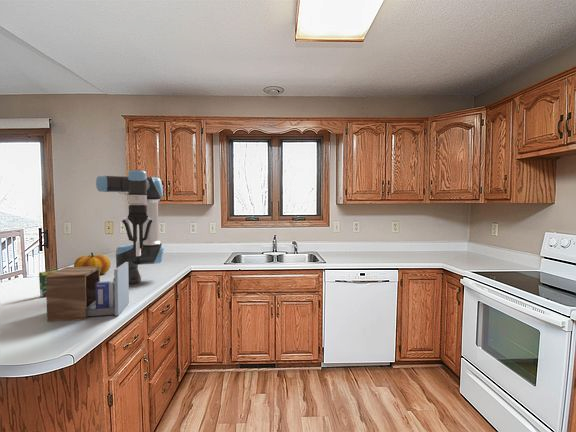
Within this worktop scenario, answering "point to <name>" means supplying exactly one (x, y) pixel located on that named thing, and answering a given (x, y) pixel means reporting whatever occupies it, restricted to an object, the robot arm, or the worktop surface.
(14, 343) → the worktop surface
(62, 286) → the block
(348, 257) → the worktop surface
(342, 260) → the worktop surface
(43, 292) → the coffee box
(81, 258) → the decorative pumpkin
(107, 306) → the walkman
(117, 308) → the drawer
